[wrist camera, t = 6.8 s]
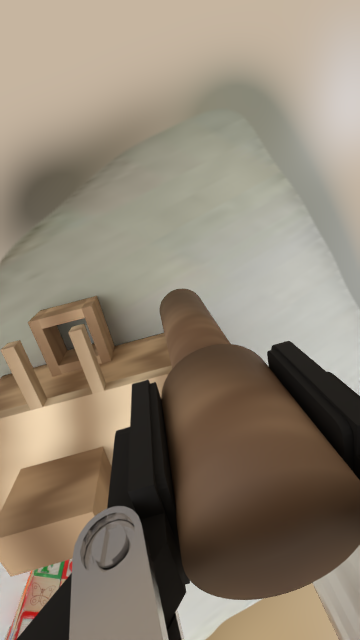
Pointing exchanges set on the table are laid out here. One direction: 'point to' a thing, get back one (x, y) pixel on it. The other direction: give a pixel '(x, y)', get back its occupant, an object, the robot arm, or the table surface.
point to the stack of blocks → (38, 594)
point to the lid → (58, 457)
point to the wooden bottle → (248, 467)
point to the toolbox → (65, 365)
